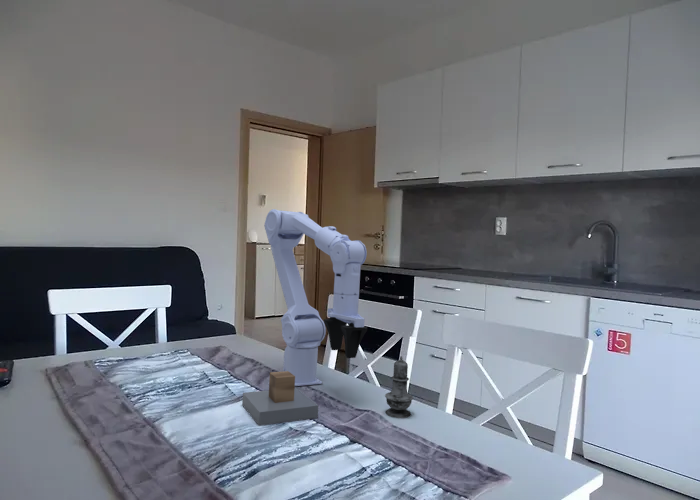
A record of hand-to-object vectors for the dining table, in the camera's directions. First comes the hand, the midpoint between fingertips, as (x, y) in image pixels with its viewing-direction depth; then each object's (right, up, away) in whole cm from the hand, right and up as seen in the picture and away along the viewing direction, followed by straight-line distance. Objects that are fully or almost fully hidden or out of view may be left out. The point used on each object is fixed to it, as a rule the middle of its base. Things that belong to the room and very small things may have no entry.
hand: (343, 353), depth 109 cm
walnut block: (-13, -7, -11) cm, 18 cm away
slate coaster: (-13, -9, -11) cm, 19 cm away
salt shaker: (+12, -11, -8) cm, 18 cm away
